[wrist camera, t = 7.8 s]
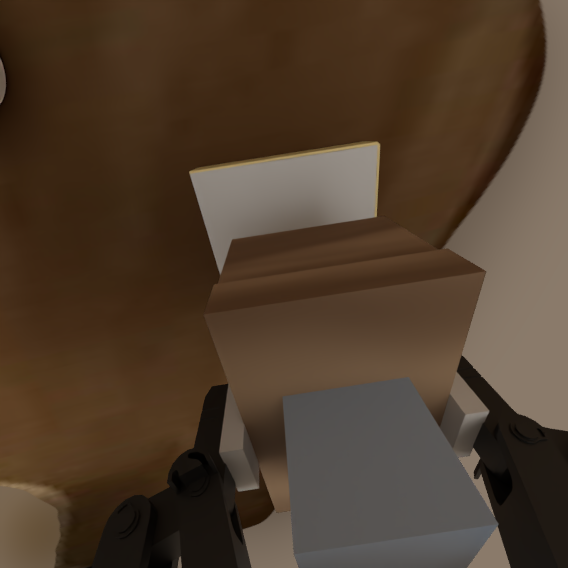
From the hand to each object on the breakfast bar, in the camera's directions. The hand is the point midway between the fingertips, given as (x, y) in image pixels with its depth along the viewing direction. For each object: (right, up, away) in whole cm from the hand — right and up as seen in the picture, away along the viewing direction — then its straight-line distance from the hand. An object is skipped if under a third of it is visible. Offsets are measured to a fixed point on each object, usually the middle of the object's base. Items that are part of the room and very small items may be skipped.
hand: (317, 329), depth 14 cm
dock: (-1, +6, +11) cm, 13 cm away
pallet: (0, 0, 0) cm, 0 cm away
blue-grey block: (0, -3, -5) cm, 6 cm away
